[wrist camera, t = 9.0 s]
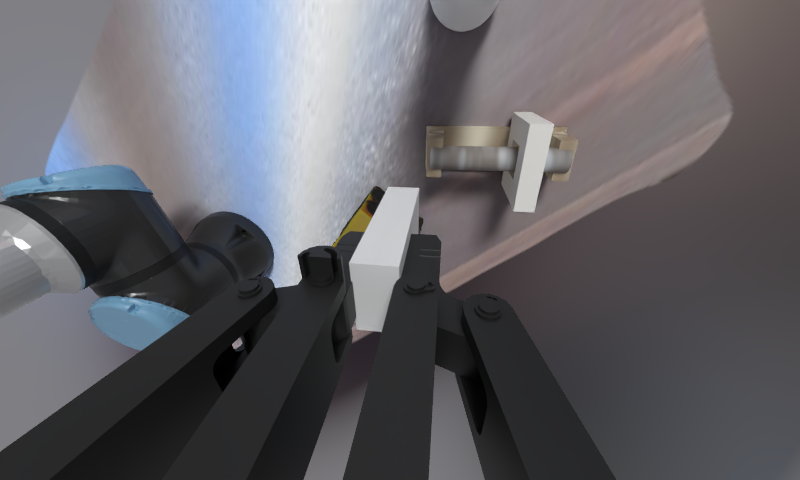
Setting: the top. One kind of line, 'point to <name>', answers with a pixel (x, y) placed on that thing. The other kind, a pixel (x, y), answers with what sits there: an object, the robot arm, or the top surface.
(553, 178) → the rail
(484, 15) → the bottle
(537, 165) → the upright white plank
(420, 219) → the yellow cube with hole
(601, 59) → the top surface
